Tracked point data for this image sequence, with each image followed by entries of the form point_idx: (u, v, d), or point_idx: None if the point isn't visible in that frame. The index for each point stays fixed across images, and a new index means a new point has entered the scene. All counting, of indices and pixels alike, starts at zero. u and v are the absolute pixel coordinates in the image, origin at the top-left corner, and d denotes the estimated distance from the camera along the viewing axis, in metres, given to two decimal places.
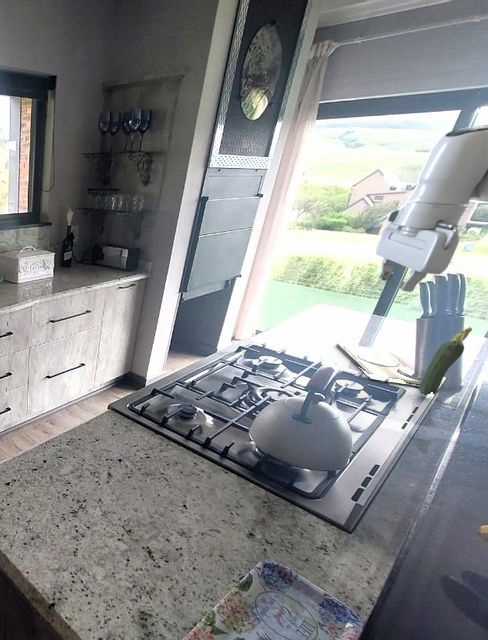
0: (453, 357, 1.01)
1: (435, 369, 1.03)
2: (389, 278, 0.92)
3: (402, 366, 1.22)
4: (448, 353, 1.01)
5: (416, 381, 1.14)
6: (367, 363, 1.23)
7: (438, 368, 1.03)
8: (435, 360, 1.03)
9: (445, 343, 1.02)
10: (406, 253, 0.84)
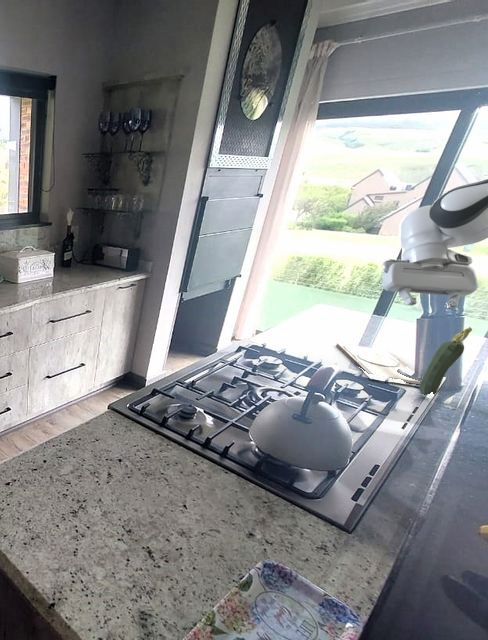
0: (453, 357, 1.01)
1: (435, 369, 1.03)
2: (450, 305, 1.08)
3: (402, 366, 1.22)
4: (448, 353, 1.01)
5: (416, 381, 1.14)
6: (367, 363, 1.23)
7: (438, 368, 1.03)
8: (435, 360, 1.03)
9: (445, 343, 1.02)
10: None
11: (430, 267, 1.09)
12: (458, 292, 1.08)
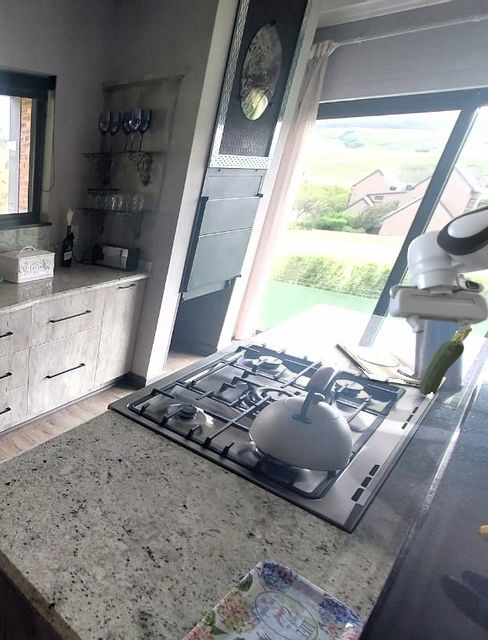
0: (453, 357, 1.01)
1: (435, 369, 1.03)
2: None
3: (402, 366, 1.22)
4: (448, 353, 1.01)
5: (416, 381, 1.14)
6: (367, 363, 1.23)
7: (438, 368, 1.03)
8: (435, 360, 1.03)
9: (445, 343, 1.02)
10: None
11: (439, 294, 1.06)
12: (469, 320, 1.04)
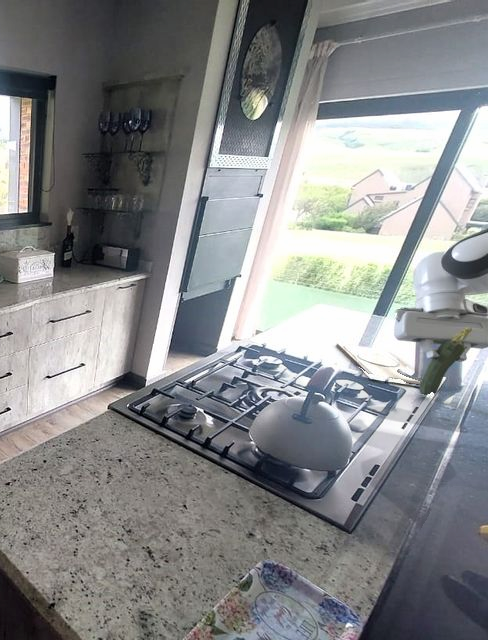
0: (453, 357, 1.01)
1: (435, 369, 1.03)
2: None
3: (402, 366, 1.22)
4: (448, 353, 1.01)
5: (416, 381, 1.14)
6: (367, 363, 1.23)
7: (438, 368, 1.03)
8: (435, 360, 1.03)
9: (445, 343, 1.02)
10: None
11: (446, 317, 1.03)
12: (468, 344, 1.02)
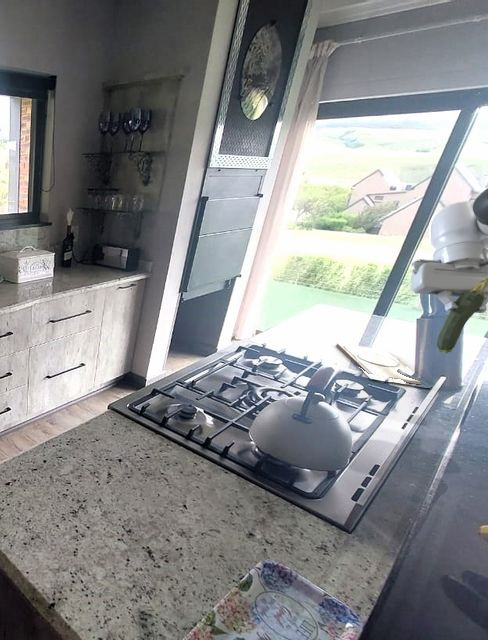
0: (473, 307, 0.97)
1: (454, 321, 1.00)
2: (478, 308, 0.98)
3: (402, 366, 1.22)
4: (467, 303, 0.98)
5: (416, 381, 1.14)
6: (367, 363, 1.23)
7: (457, 320, 1.00)
8: (454, 311, 1.00)
9: (464, 294, 0.99)
10: None
11: (465, 267, 1.00)
12: (487, 294, 0.99)
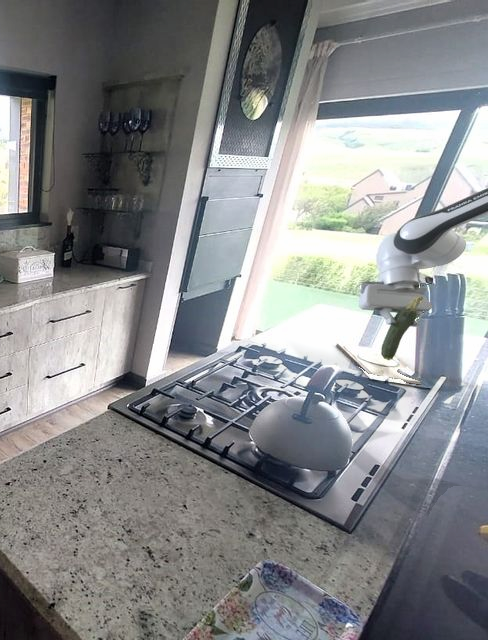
0: (407, 322, 1.16)
1: (393, 334, 1.19)
2: (412, 323, 1.17)
3: (402, 366, 1.22)
4: (403, 319, 1.16)
5: (416, 381, 1.14)
6: (367, 363, 1.23)
7: (396, 333, 1.18)
8: (393, 325, 1.19)
9: (401, 310, 1.17)
10: None
11: (403, 288, 1.19)
12: (421, 311, 1.17)
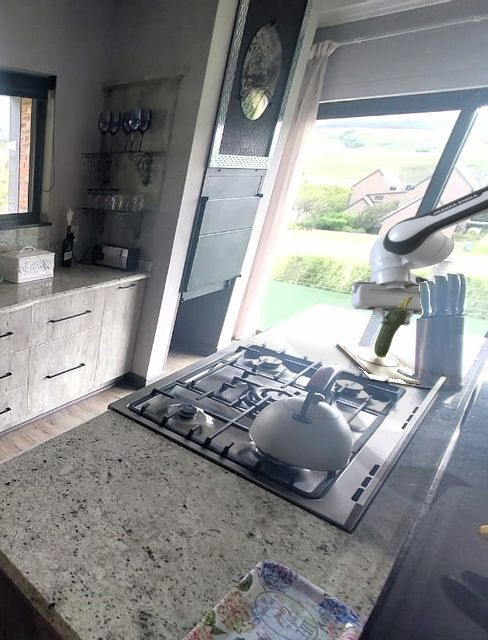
0: (399, 321, 1.20)
1: (385, 332, 1.23)
2: (403, 322, 1.21)
3: (402, 366, 1.22)
4: (394, 318, 1.20)
5: (416, 381, 1.14)
6: (367, 363, 1.23)
7: (388, 331, 1.22)
8: (385, 324, 1.22)
9: (392, 310, 1.21)
10: None
11: (394, 288, 1.22)
12: (411, 310, 1.21)
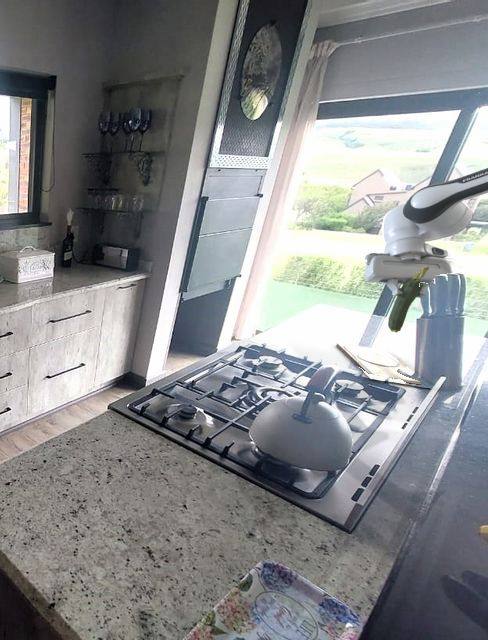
0: (414, 292, 1.16)
1: (400, 305, 1.19)
2: (419, 293, 1.17)
3: (402, 366, 1.22)
4: (409, 289, 1.16)
5: (416, 381, 1.14)
6: (367, 363, 1.23)
7: (402, 304, 1.18)
8: (400, 296, 1.18)
9: (407, 281, 1.17)
10: None
11: (409, 259, 1.18)
12: (427, 282, 1.17)
